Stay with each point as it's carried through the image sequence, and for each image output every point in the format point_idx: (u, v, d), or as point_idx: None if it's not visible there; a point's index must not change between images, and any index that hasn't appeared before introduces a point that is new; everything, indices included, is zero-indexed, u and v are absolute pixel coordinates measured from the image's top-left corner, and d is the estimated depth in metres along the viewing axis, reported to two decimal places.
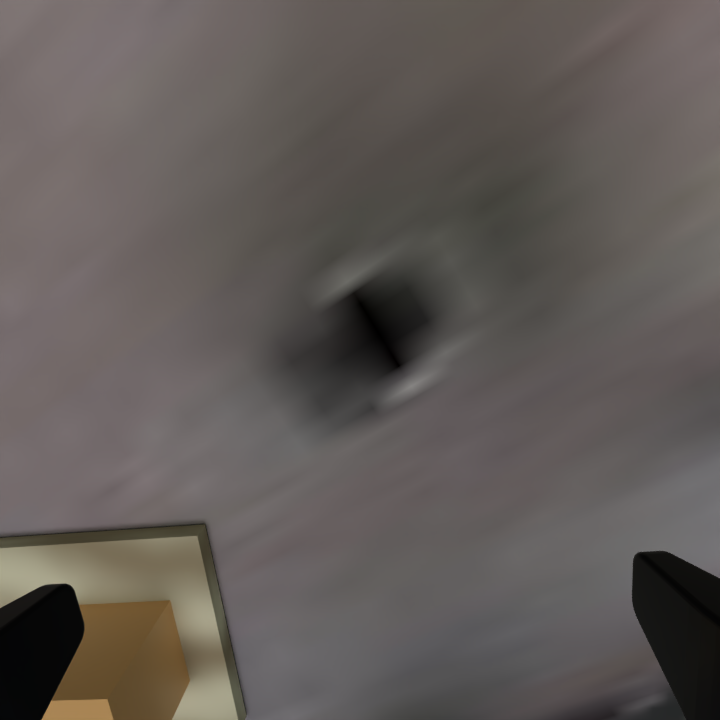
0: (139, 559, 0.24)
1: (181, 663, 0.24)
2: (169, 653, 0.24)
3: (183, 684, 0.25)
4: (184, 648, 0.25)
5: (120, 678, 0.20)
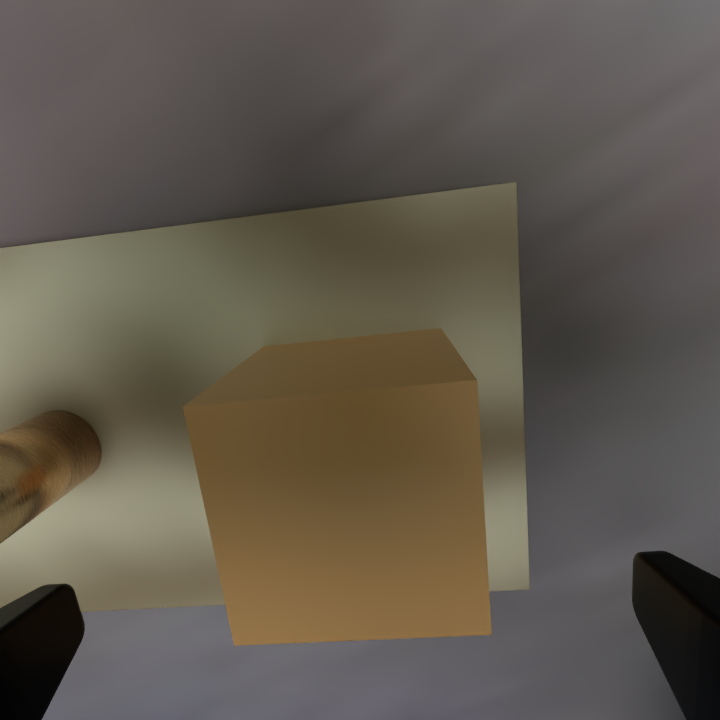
0: (394, 242, 0.13)
1: None
2: None
3: None
4: None
5: (467, 366, 0.09)
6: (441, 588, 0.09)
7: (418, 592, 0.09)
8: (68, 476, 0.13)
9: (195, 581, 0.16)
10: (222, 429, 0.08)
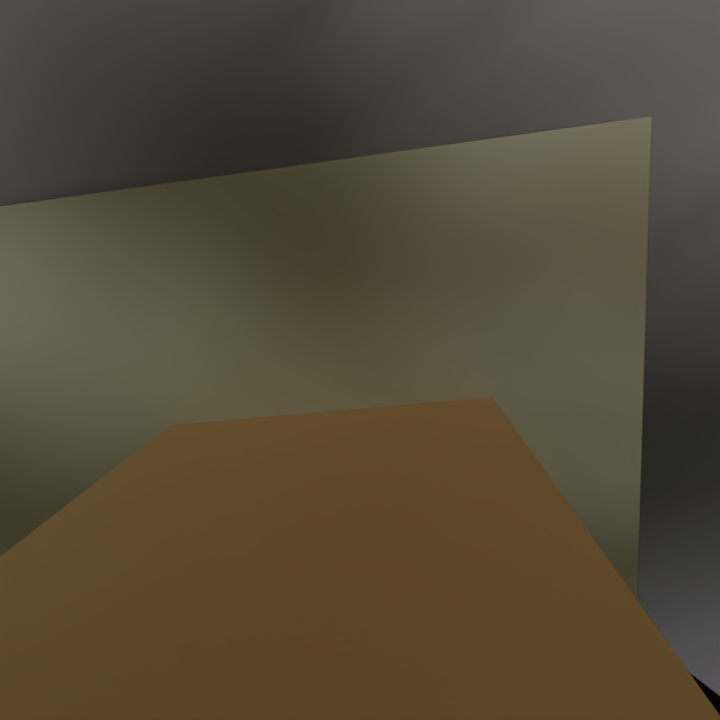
0: (406, 237, 0.07)
1: None
2: None
3: None
4: None
5: (659, 631, 0.03)
6: None
7: None
8: None
9: None
10: None
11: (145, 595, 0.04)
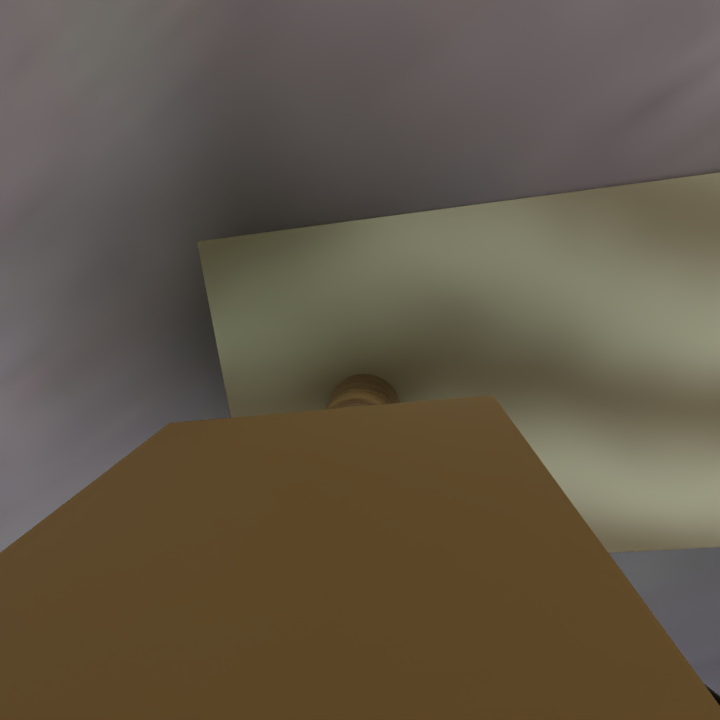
0: (714, 213, 0.14)
1: None
2: None
3: None
4: None
5: None
6: None
7: None
8: None
9: None
10: None
11: (144, 592, 0.03)
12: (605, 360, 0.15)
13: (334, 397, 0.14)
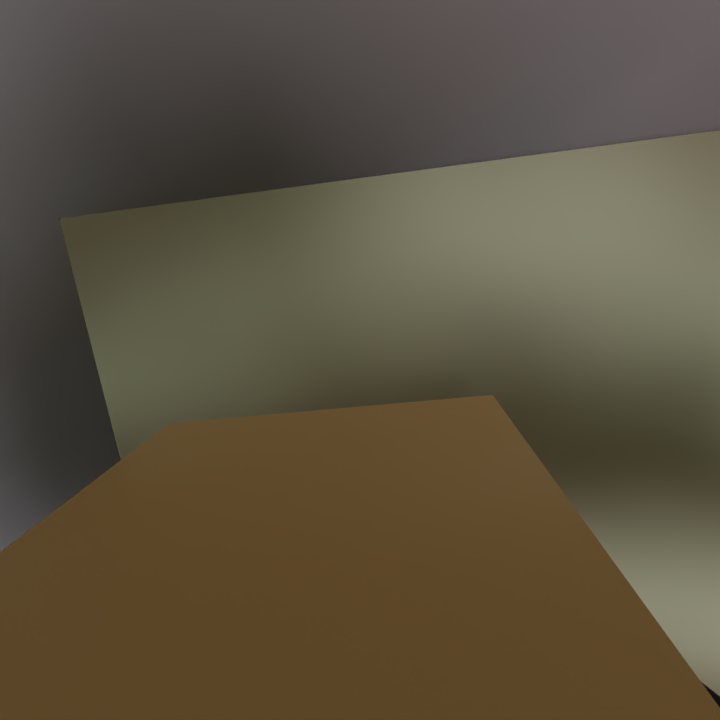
0: None
1: None
2: None
3: None
4: None
5: (661, 628, 0.03)
6: None
7: None
8: None
9: None
10: None
11: (143, 592, 0.03)
12: None
13: None
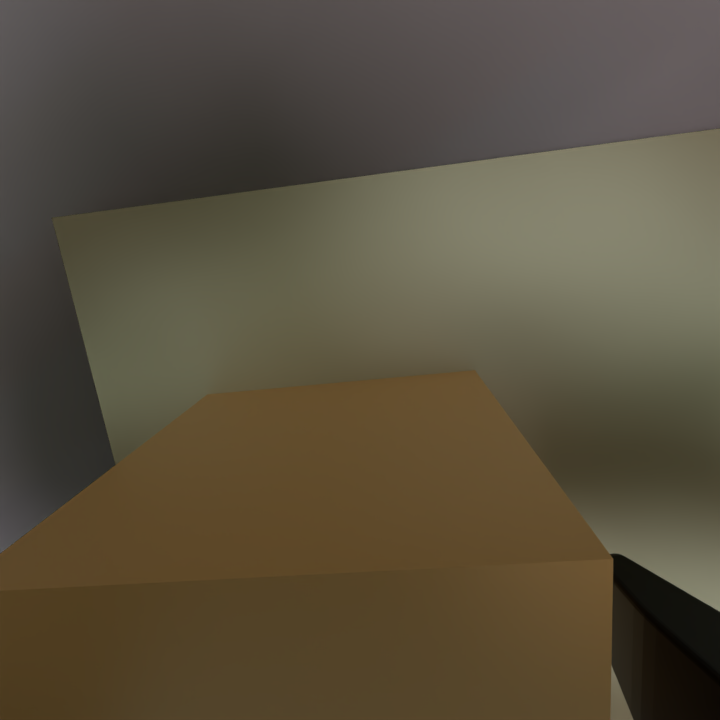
0: None
1: None
2: None
3: None
4: None
5: (563, 491, 0.04)
6: None
7: None
8: None
9: None
10: (39, 642, 0.04)
11: (221, 488, 0.05)
12: None
13: None
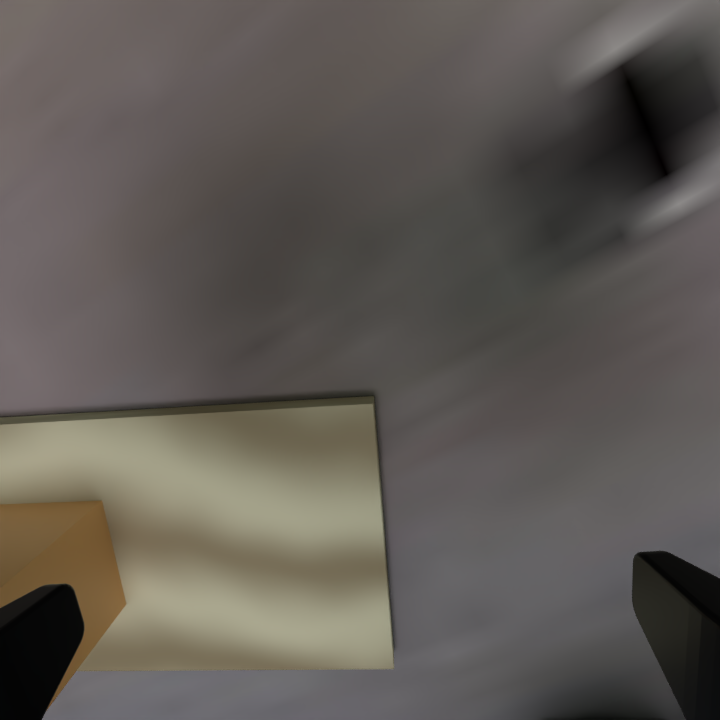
0: (292, 435, 0.18)
1: (114, 579, 0.20)
2: (98, 563, 0.19)
3: (116, 605, 0.20)
4: (335, 557, 0.19)
5: (18, 572, 0.15)
6: None
7: None
8: None
9: (152, 653, 0.21)
10: None
11: None
12: (231, 532, 0.20)
13: None
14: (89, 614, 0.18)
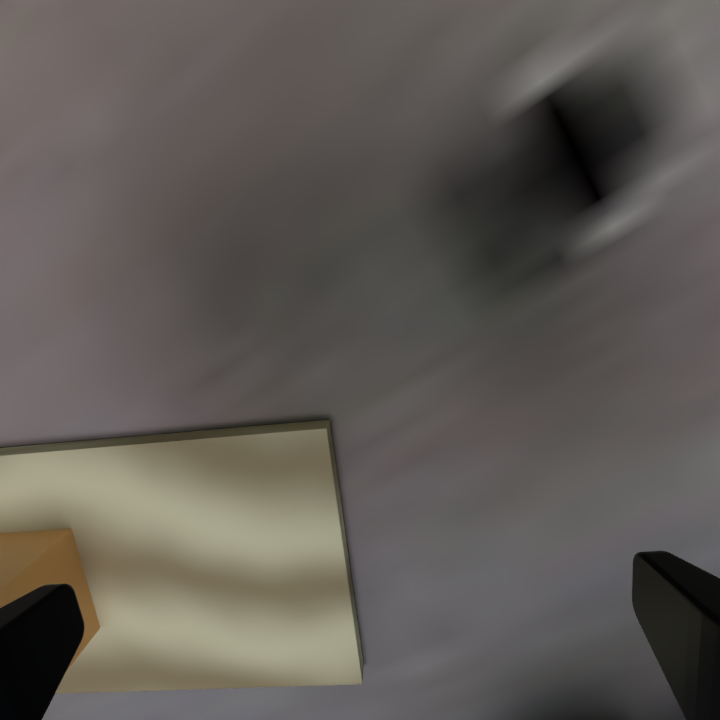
0: (250, 461, 0.19)
1: (86, 604, 0.21)
2: None
3: (89, 629, 0.21)
4: (299, 577, 0.20)
5: None
6: None
7: None
8: None
9: (128, 674, 0.22)
10: None
11: None
12: (197, 555, 0.20)
13: None
14: None
